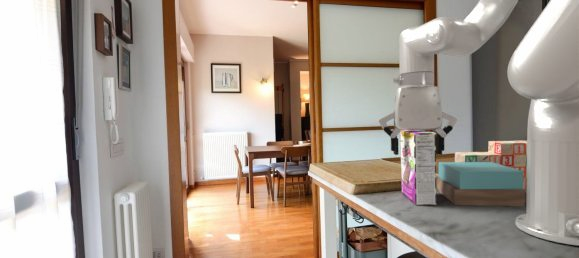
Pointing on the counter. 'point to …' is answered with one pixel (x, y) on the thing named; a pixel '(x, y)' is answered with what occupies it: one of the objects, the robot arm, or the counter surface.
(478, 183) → the teal top slab
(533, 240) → the counter surface
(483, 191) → the walnut base slab
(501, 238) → the counter surface
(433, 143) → the candy bar box
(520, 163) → the stack of blocks
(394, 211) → the counter surface
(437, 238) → the counter surface
